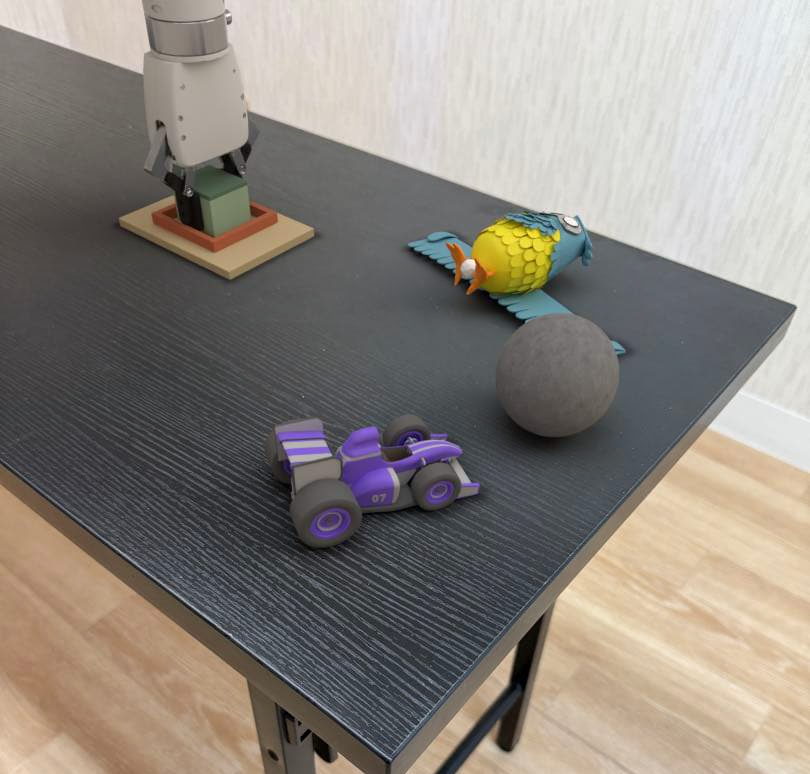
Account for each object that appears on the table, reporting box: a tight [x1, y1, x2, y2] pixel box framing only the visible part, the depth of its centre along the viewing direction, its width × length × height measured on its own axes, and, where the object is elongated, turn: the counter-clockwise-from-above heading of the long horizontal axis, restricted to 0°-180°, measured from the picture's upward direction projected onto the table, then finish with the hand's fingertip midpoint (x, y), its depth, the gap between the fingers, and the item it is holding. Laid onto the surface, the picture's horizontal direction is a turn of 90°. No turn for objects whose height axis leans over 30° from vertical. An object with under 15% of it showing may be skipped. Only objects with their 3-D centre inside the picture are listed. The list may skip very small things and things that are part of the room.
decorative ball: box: [494, 313, 620, 438], centre depth 66 cm, size 10×10×10 cm
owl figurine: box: [407, 210, 627, 356], centre depth 81 cm, size 28×9×15 cm
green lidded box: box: [172, 164, 251, 237], centre depth 89 cm, size 6×6×4 cm
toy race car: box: [263, 413, 481, 549], centre depth 61 cm, size 10×15×6 cm, turn 111°
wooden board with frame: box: [118, 194, 315, 281], centre depth 91 cm, size 18×13×2 cm
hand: (213, 215), depth 90 cm, fingers closed on green lidded box, 5 cm apart
